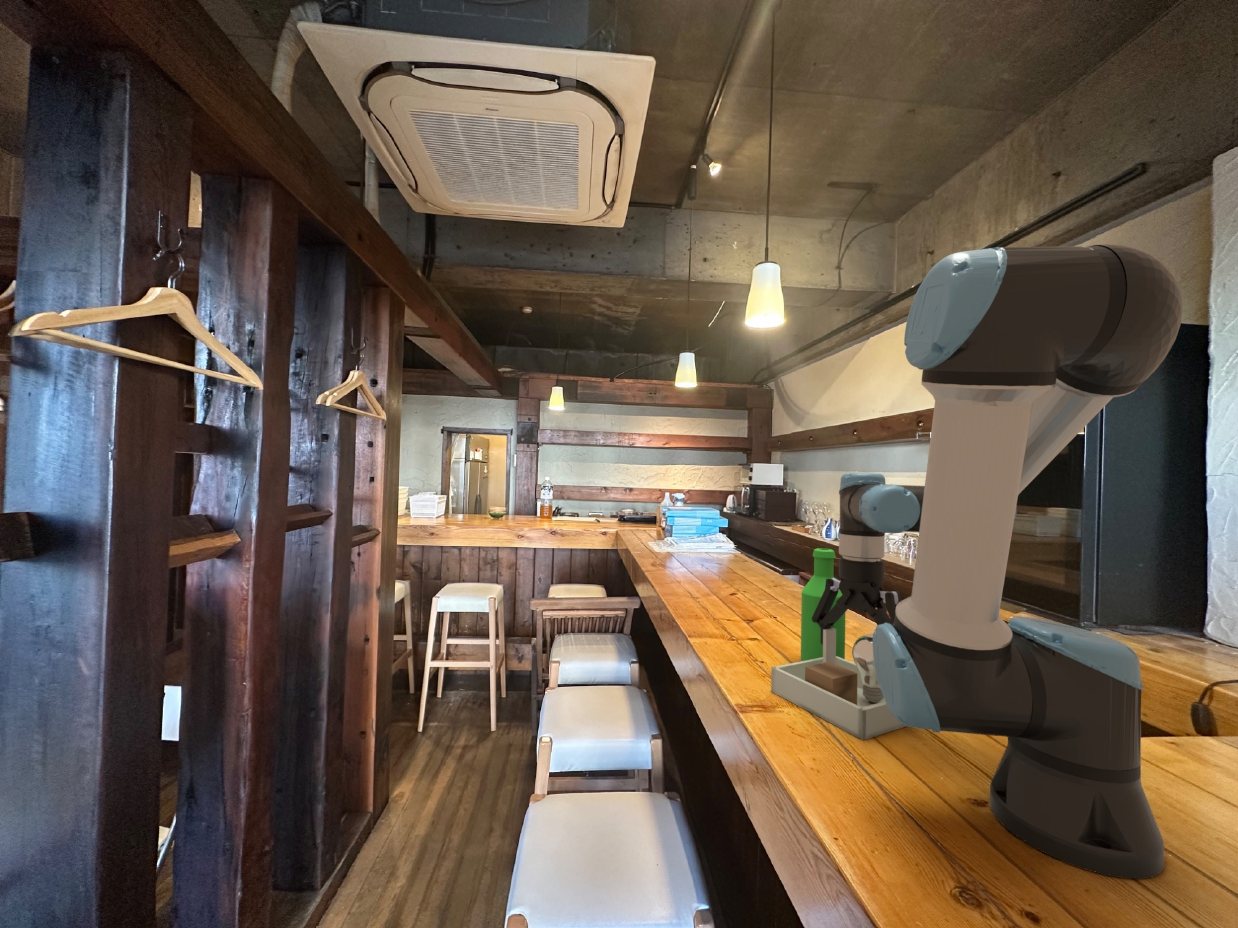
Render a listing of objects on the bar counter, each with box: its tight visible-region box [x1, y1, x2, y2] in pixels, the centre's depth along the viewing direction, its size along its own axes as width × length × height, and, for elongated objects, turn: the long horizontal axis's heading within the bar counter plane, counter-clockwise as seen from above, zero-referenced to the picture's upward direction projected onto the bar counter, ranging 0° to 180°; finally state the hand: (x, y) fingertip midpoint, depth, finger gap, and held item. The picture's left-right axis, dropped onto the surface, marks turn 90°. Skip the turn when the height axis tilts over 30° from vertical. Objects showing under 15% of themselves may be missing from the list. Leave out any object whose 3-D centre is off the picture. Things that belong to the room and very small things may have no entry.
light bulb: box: [851, 633, 883, 704], centre depth 92 cm, size 7×7×12 cm
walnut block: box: [805, 662, 858, 705], centre depth 91 cm, size 6×6×6 cm
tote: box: [770, 656, 907, 741], centre depth 92 cm, size 20×17×4 cm
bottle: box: [800, 547, 846, 662], centre depth 111 cm, size 9×9×25 cm
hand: (859, 676), depth 94 cm, fingers open, 13 cm apart
